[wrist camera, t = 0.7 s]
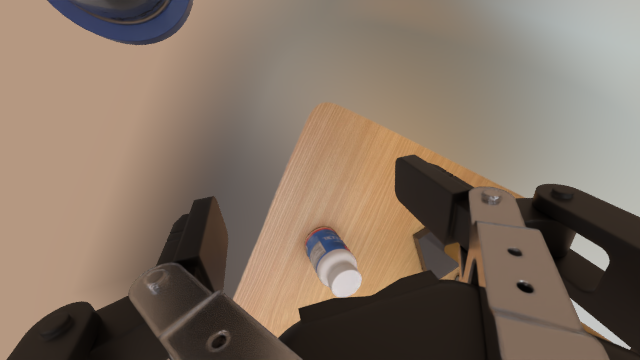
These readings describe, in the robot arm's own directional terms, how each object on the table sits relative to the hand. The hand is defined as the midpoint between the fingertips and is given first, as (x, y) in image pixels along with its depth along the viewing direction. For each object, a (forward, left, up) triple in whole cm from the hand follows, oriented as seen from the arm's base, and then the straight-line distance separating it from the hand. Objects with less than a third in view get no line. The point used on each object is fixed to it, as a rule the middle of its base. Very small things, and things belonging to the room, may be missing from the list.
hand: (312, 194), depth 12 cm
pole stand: (+35, +22, -22) cm, 47 cm away
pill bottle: (+20, +1, -23) cm, 30 cm away
